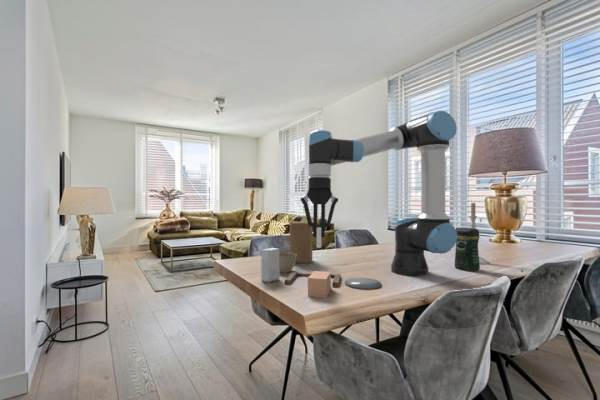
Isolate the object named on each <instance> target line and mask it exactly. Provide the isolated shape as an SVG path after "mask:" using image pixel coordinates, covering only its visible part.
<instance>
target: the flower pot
mask: <svg viewBox="0 0 600 400" xmlns="http://www.w3.org/2000/svg"><path fill="white" fill-rule="evenodd" d="M296 258H297V254H294V253H290V252H279V273H290V272H292V270H293V268H294V266H295V264H296V263H295V262H296Z"/></svg>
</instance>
